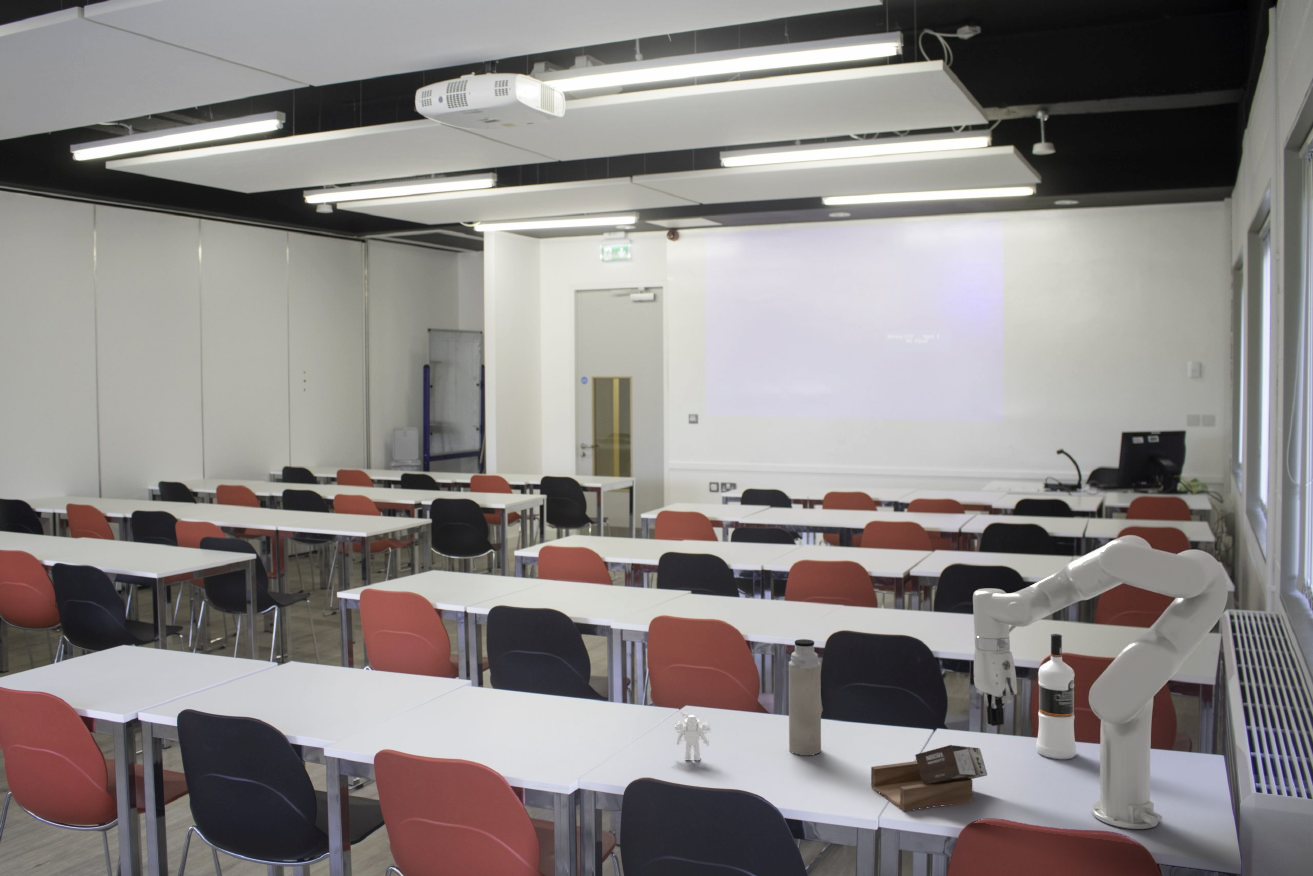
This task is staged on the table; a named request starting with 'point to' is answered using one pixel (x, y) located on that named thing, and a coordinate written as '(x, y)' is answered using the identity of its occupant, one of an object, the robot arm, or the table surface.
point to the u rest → (917, 787)
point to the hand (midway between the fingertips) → (995, 724)
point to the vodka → (1056, 706)
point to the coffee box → (950, 764)
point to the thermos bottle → (804, 699)
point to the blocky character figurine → (692, 735)
